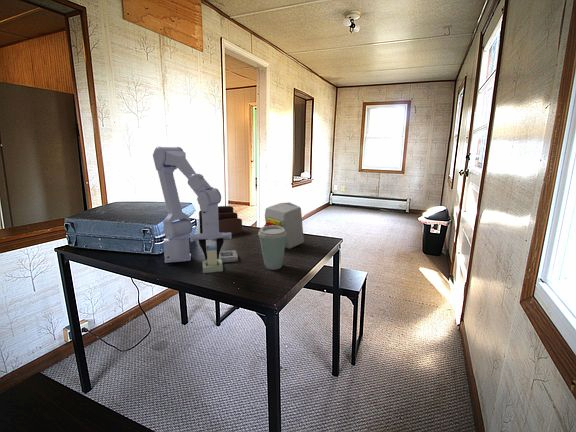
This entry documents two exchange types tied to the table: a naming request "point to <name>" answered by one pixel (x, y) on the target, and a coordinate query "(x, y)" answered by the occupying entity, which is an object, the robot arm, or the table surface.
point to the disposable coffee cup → (272, 245)
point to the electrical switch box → (286, 222)
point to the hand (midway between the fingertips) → (211, 258)
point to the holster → (212, 267)
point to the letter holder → (226, 220)
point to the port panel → (228, 256)
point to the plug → (211, 255)
